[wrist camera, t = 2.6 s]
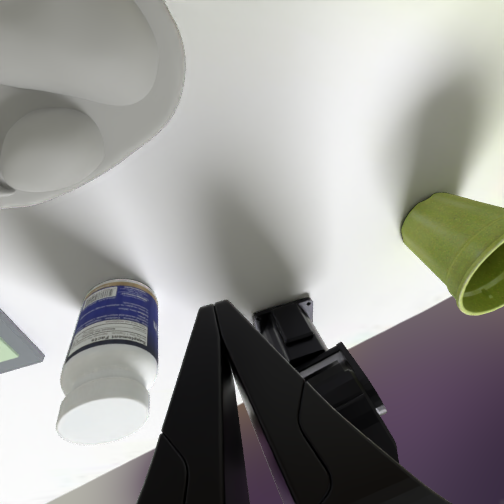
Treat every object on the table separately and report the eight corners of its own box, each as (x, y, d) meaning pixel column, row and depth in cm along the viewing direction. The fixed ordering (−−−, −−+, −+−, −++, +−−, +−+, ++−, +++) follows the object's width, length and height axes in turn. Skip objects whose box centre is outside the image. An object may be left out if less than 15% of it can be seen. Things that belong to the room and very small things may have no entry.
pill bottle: (147, 329, 26) (141, 447, 18) (77, 321, 23) (34, 455, 15) (167, 283, 24) (171, 394, 16) (92, 268, 21) (51, 392, 13)
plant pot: (486, 182, 27) (597, 222, 20) (433, 260, 32) (508, 315, 25) (418, 166, 24) (523, 207, 17) (369, 256, 29) (437, 317, 22)
